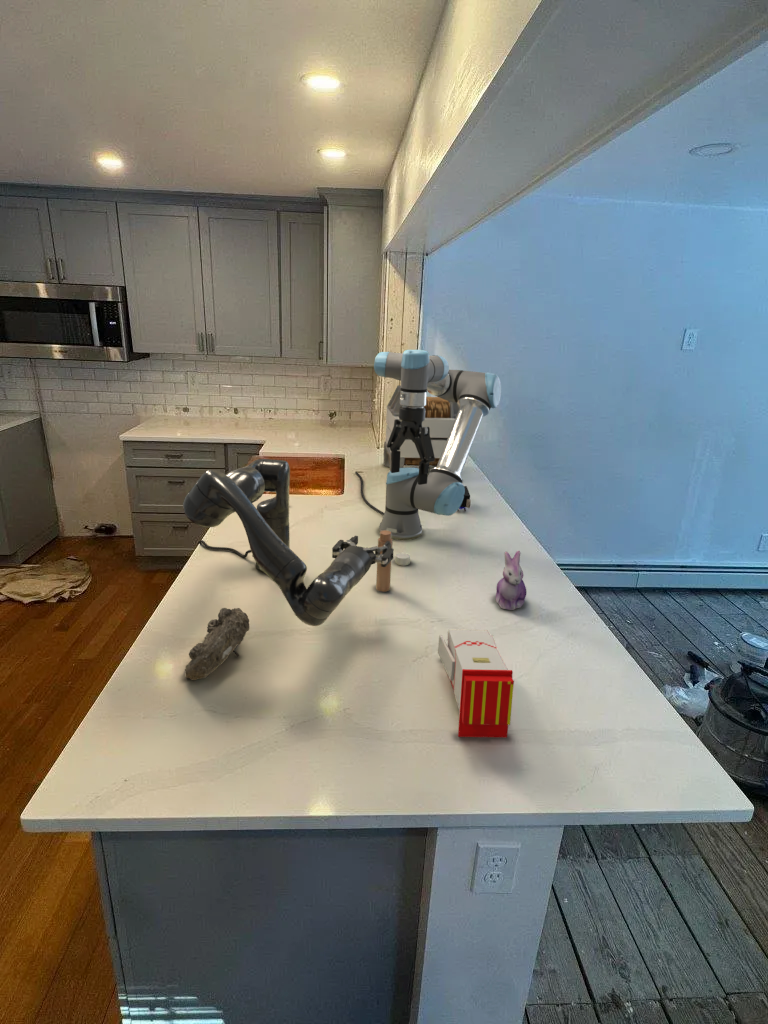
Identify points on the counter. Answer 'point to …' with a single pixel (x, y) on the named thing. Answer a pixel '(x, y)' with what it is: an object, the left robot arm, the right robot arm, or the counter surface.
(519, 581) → the figurine
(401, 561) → the lid
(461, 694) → the toy
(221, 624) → the fossil
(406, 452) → the white slatted crate
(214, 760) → the counter surface
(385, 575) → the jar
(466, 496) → the figurine character
